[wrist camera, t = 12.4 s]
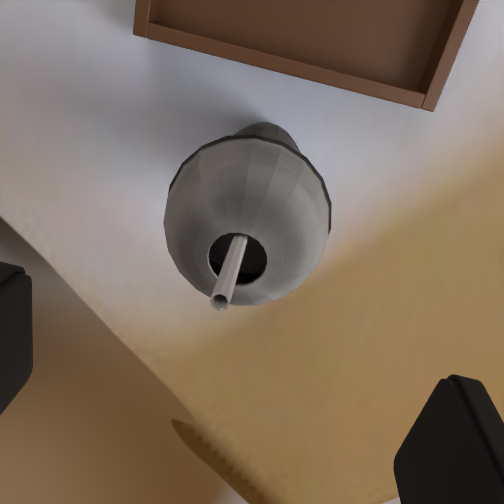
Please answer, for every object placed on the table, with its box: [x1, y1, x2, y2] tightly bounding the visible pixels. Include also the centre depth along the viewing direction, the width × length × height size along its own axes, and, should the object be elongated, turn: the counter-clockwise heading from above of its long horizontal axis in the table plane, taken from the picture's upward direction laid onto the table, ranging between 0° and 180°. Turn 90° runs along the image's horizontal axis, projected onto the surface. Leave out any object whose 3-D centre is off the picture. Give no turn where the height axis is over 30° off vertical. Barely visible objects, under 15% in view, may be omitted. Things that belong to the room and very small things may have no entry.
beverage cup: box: [164, 123, 331, 310], centre depth 20 cm, size 7×7×20 cm
